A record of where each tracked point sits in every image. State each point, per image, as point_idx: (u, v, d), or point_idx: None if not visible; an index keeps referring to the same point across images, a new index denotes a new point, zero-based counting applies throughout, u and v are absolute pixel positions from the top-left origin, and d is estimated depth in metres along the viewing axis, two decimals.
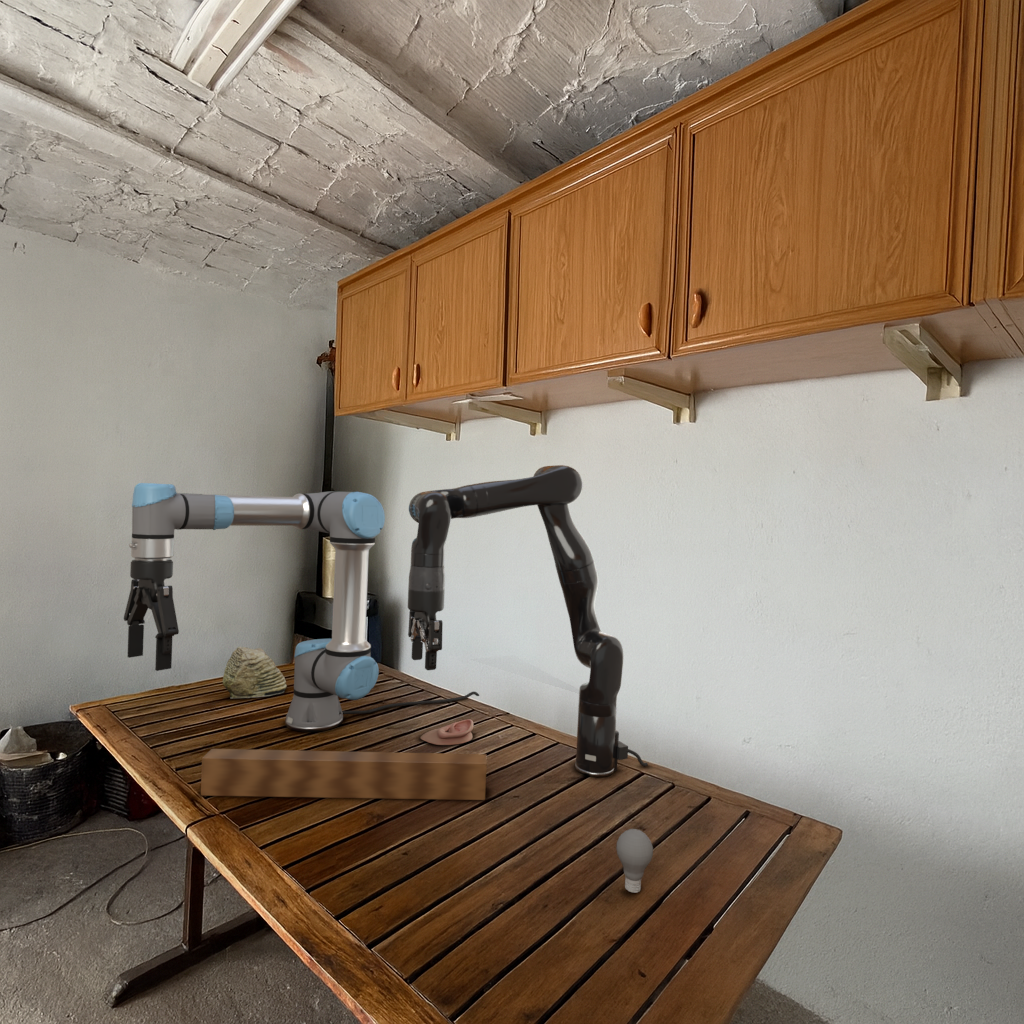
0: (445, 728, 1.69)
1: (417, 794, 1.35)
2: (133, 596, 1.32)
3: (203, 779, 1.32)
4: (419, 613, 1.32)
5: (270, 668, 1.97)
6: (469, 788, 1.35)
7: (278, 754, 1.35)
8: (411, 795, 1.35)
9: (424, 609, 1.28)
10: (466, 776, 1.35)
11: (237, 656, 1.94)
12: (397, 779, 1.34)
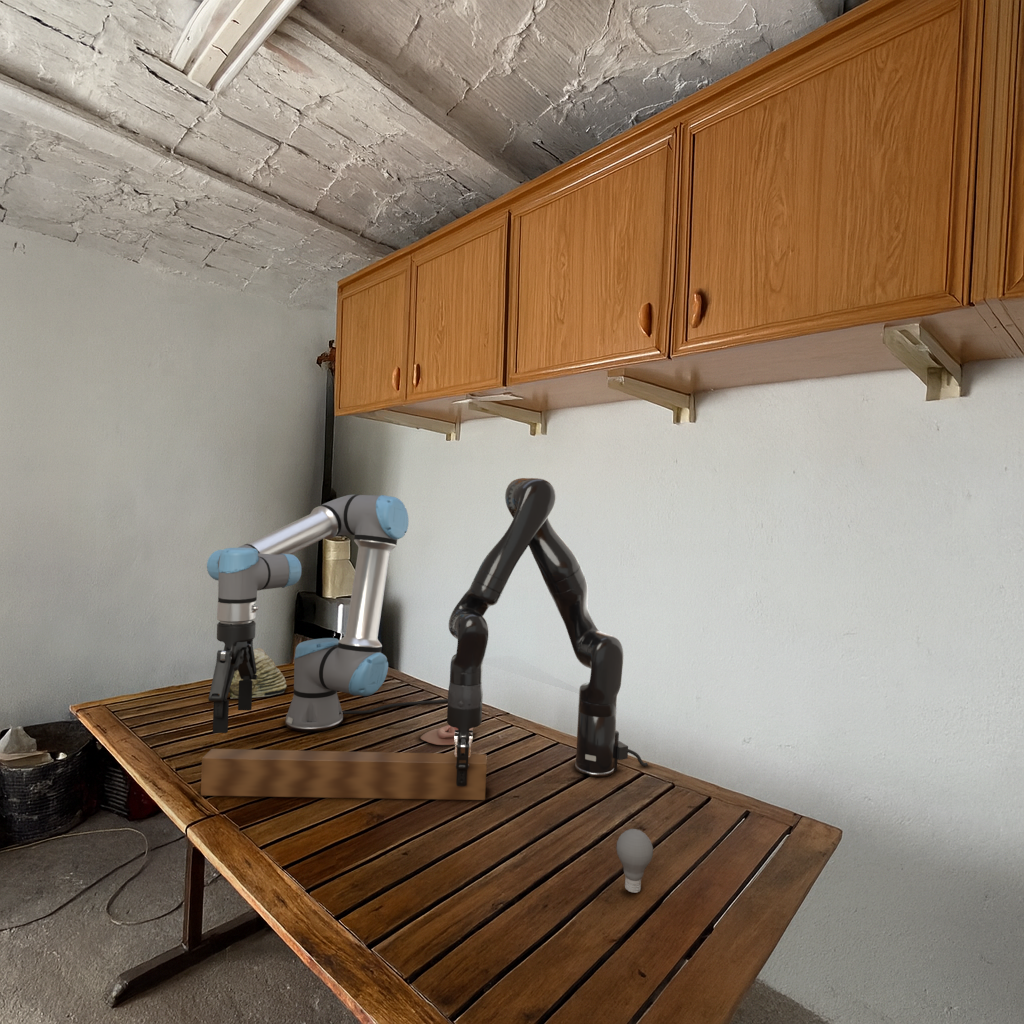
0: (445, 728, 1.69)
1: (417, 794, 1.35)
2: None
3: (203, 779, 1.32)
4: None
5: (270, 668, 1.97)
6: (469, 788, 1.35)
7: (278, 754, 1.35)
8: (411, 795, 1.35)
9: (456, 725, 1.34)
10: None
11: None
12: (397, 779, 1.34)
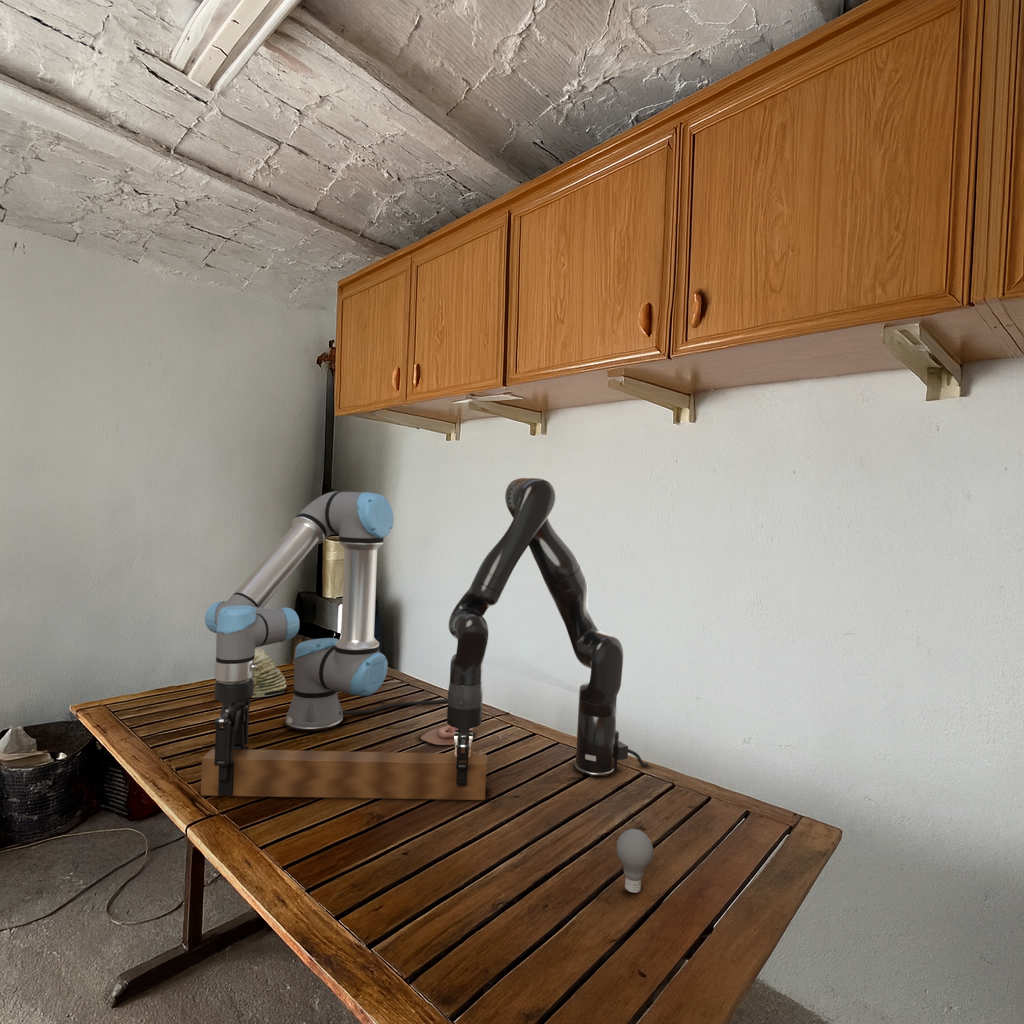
0: (445, 728, 1.69)
1: (417, 794, 1.35)
2: None
3: (203, 779, 1.32)
4: None
5: (270, 668, 1.97)
6: (469, 788, 1.35)
7: (278, 754, 1.35)
8: (411, 795, 1.35)
9: (456, 725, 1.34)
10: None
11: None
12: (397, 779, 1.34)
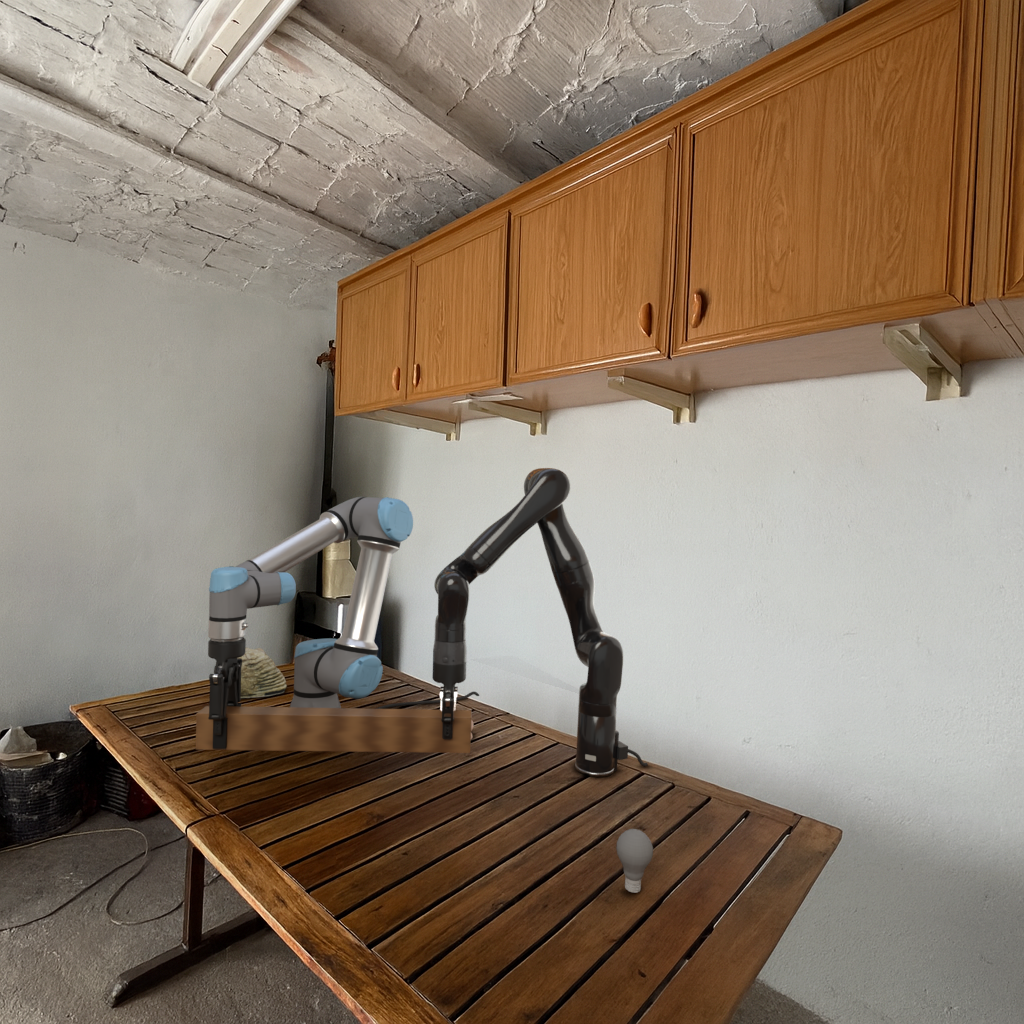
0: None
1: (404, 747, 1.40)
2: None
3: (198, 734, 1.37)
4: None
5: (270, 668, 1.97)
6: (454, 741, 1.40)
7: (270, 710, 1.40)
8: (398, 748, 1.40)
9: (441, 681, 1.39)
10: None
11: None
12: (385, 733, 1.39)
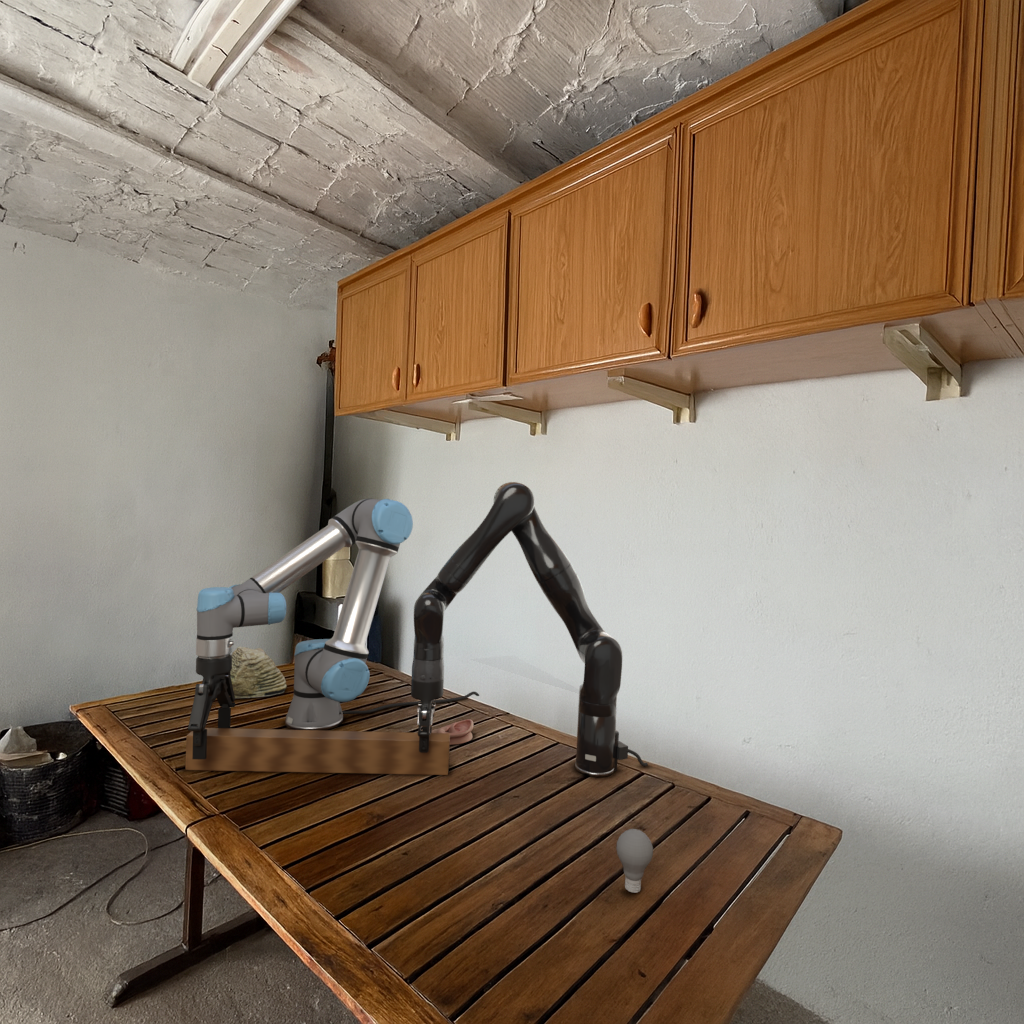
0: (445, 728, 1.69)
1: (385, 769, 1.46)
2: None
3: (187, 755, 1.43)
4: None
5: (270, 668, 1.97)
6: (433, 764, 1.47)
7: (257, 732, 1.47)
8: (379, 770, 1.46)
9: (419, 697, 1.45)
10: (430, 752, 1.47)
11: (237, 656, 1.94)
12: (366, 755, 1.46)
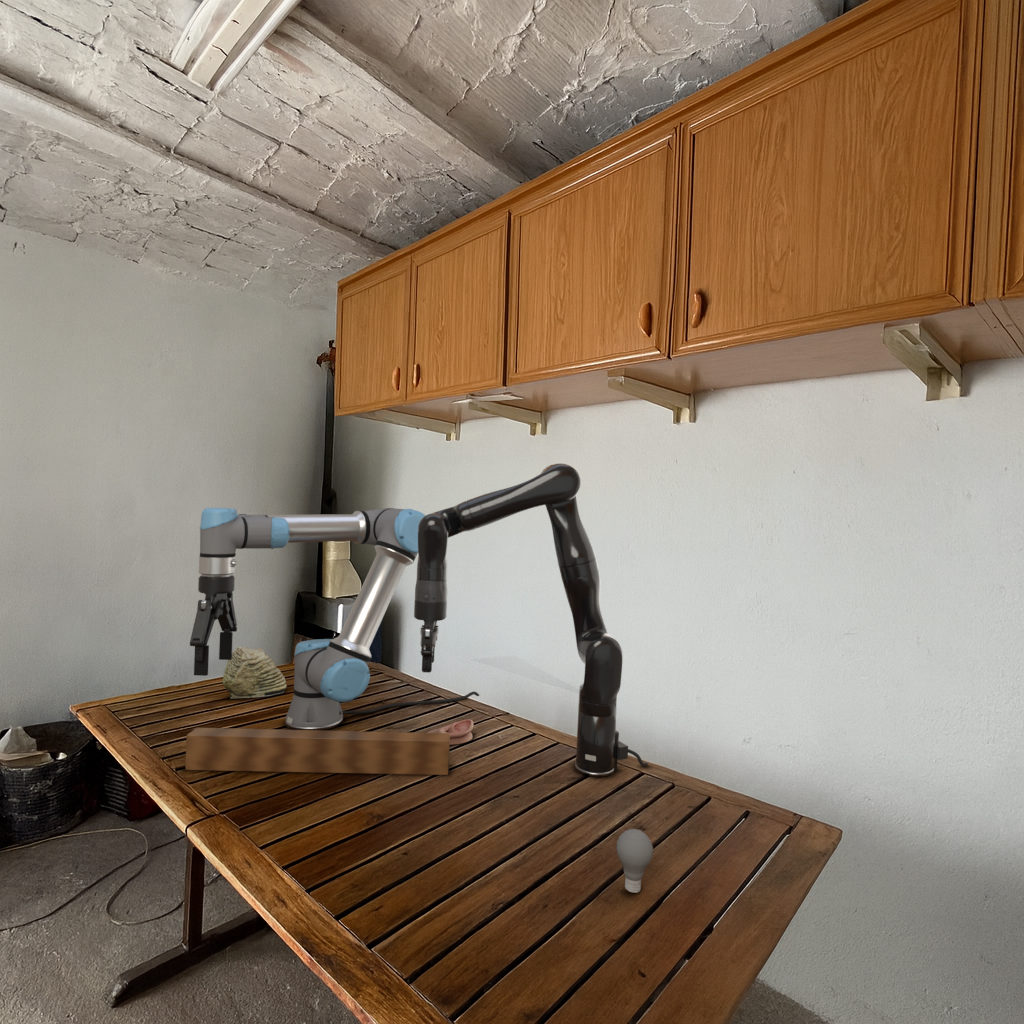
0: (445, 728, 1.69)
1: (385, 769, 1.46)
2: None
3: (187, 755, 1.43)
4: None
5: (270, 668, 1.97)
6: (433, 764, 1.47)
7: (257, 732, 1.47)
8: (379, 770, 1.46)
9: (422, 617, 1.45)
10: (430, 752, 1.47)
11: (237, 656, 1.94)
12: (366, 755, 1.46)
